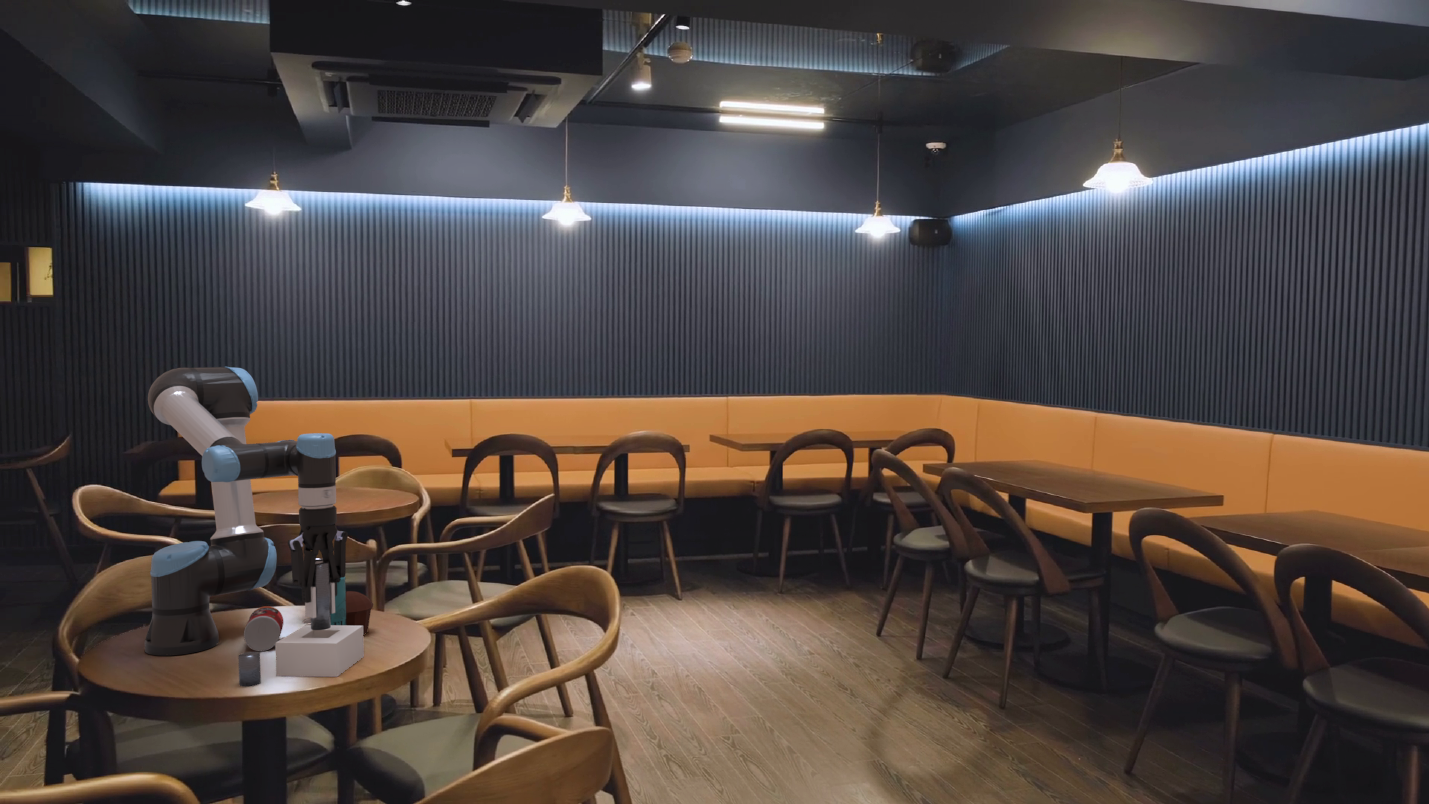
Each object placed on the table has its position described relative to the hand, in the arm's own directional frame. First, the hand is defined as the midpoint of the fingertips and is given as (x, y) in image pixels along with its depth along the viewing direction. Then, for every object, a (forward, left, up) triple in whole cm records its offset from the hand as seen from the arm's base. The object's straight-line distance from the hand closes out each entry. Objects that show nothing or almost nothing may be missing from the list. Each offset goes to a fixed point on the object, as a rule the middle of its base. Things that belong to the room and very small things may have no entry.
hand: (320, 614), depth 220 cm
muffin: (-5, +25, -12) cm, 28 cm away
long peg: (0, 0, -3) cm, 3 cm away
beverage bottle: (-5, +16, -11) cm, 20 cm away
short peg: (-10, -12, -11) cm, 19 cm away
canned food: (-22, +21, -7) cm, 31 cm away
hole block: (0, 0, -11) cm, 11 cm away
